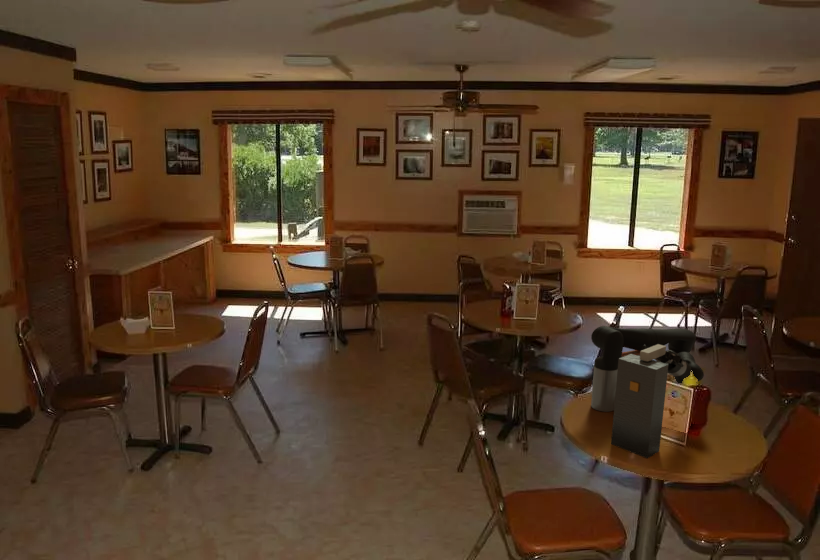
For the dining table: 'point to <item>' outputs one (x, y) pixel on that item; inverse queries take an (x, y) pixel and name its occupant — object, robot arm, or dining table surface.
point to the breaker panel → (639, 405)
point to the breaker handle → (652, 352)
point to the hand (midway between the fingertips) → (654, 350)
